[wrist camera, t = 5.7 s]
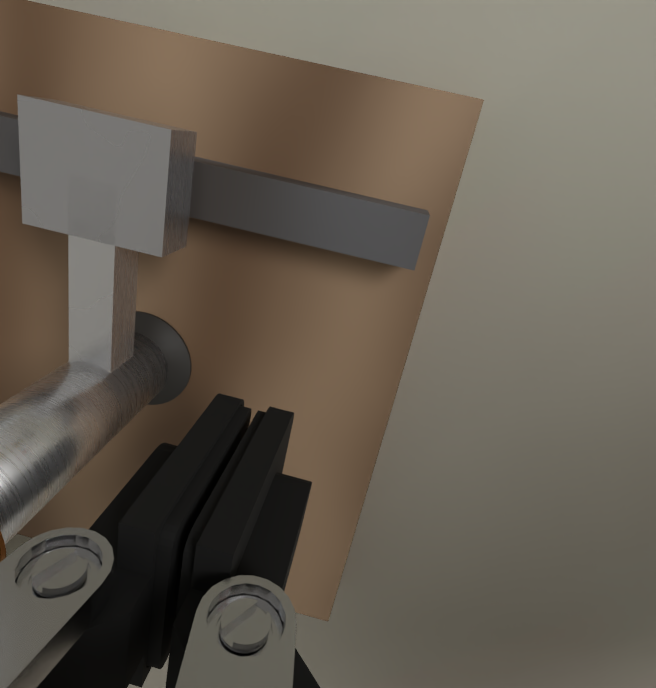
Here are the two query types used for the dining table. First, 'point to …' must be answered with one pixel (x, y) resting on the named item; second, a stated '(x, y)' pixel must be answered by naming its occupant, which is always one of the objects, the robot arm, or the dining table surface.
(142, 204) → the track spotlight
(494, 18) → the dining table surface
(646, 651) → the dining table surface
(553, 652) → the dining table surface
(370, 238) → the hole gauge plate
